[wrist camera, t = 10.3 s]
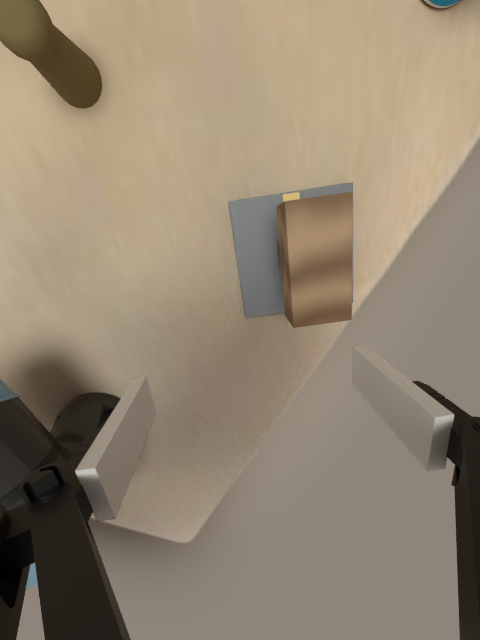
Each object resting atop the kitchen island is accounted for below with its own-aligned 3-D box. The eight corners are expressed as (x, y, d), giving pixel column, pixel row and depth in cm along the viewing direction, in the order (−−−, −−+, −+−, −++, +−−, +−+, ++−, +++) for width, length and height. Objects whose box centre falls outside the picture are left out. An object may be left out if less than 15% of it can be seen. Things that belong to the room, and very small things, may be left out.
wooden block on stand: (268, 211, 37) (284, 201, 26) (315, 204, 37) (352, 191, 26) (276, 302, 42) (293, 327, 31) (319, 296, 42) (351, 319, 30)
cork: (101, 113, 34) (43, 60, 23) (53, 101, 33) (-27, 41, 23) (102, 57, 32) (41, -28, 22) (52, 43, 31) (-36, -51, 21)
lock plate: (348, 300, 44) (373, 314, 36) (245, 315, 44) (248, 332, 36) (348, 184, 38) (377, 171, 30) (228, 202, 38) (228, 194, 30)
